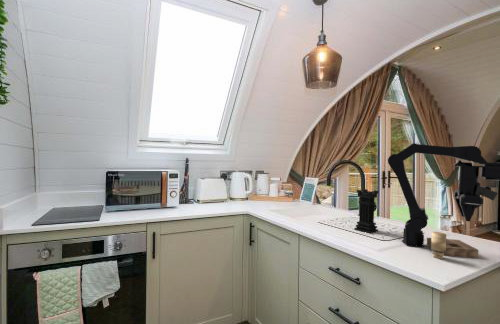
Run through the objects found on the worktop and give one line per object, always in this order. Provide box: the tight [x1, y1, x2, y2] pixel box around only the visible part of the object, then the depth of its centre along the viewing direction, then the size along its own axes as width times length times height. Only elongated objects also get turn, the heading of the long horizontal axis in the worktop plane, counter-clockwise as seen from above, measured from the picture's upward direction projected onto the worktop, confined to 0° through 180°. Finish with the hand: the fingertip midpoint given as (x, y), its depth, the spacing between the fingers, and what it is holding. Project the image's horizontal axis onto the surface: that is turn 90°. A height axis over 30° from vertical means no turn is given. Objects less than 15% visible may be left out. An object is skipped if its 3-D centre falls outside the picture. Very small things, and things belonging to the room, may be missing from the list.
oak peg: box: [430, 231, 447, 260], centre depth 98 cm, size 4×4×9 cm
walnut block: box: [426, 237, 479, 259], centre depth 106 cm, size 12×12×3 cm
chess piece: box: [353, 188, 379, 234], centre depth 132 cm, size 8×8×20 cm
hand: (465, 218), depth 103 cm, fingers open, 9 cm apart
